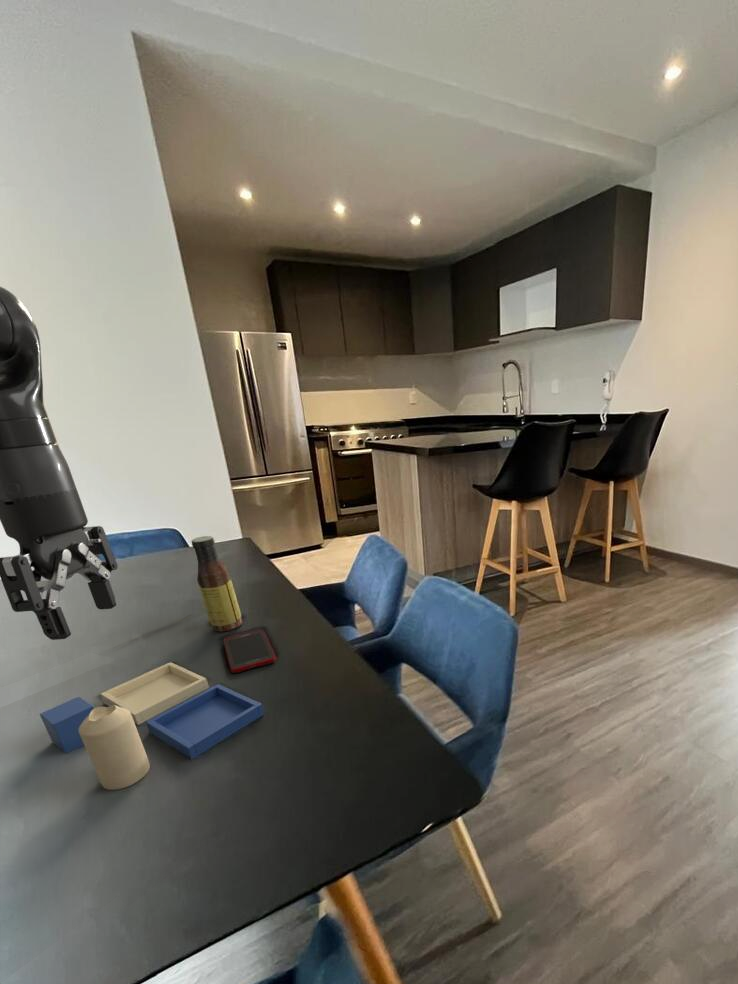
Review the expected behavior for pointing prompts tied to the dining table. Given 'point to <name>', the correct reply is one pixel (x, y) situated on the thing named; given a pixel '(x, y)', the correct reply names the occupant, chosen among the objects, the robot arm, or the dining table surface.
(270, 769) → the dining table surface
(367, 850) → the dining table surface
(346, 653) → the dining table surface
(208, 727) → the blue tray
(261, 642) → the cell phone
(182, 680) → the ivory tray
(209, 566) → the sauce bottle
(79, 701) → the blue block
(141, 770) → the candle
